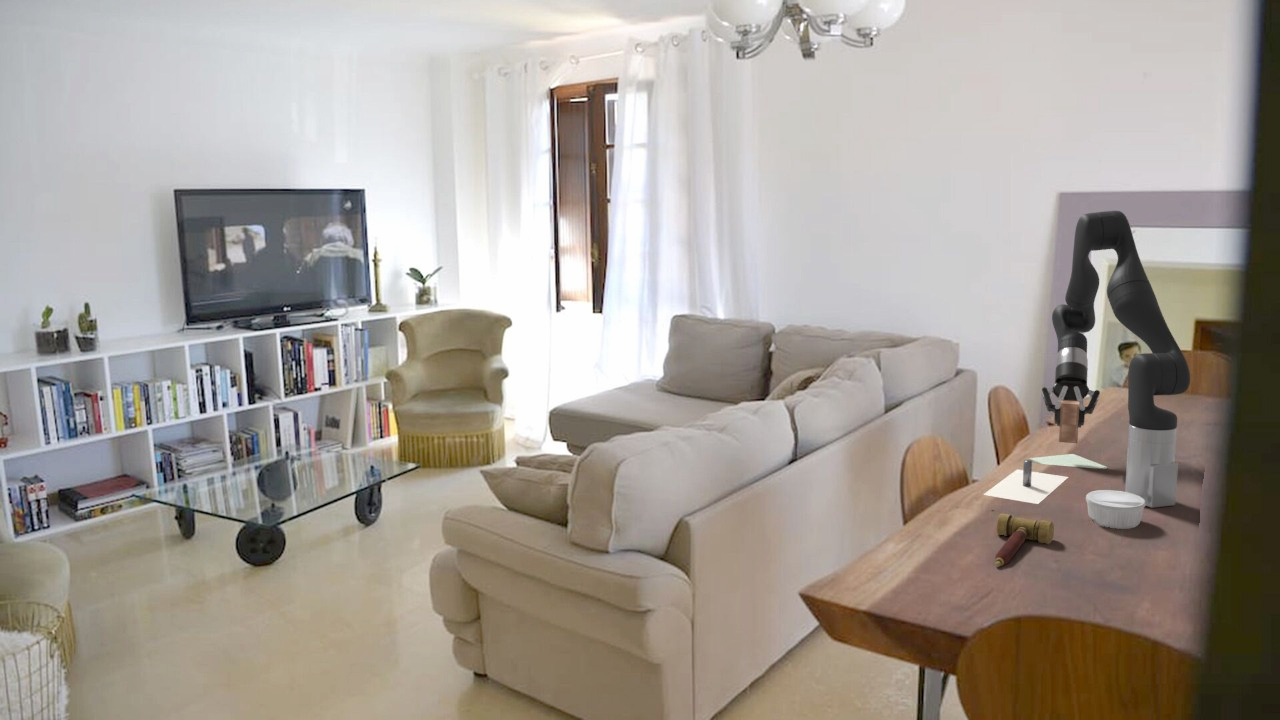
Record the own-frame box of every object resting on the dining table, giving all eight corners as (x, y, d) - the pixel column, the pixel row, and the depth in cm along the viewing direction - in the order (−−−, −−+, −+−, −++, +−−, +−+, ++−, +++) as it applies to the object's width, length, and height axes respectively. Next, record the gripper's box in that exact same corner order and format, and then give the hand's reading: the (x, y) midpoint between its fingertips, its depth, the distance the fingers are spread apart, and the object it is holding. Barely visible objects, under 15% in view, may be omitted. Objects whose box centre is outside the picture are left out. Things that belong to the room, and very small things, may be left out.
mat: (1107, 468, 233) (1107, 467, 233) (1061, 473, 230) (1061, 472, 230) (1072, 455, 245) (1072, 453, 245) (1028, 459, 243) (1028, 458, 243)
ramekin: (1111, 534, 190) (1113, 509, 189) (1072, 516, 200) (1073, 493, 200) (1156, 527, 193) (1158, 502, 192) (1116, 510, 203) (1117, 487, 202)
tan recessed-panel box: (1077, 439, 238) (1079, 400, 236) (1077, 443, 234) (1079, 404, 232) (1059, 437, 240) (1061, 399, 238) (1059, 442, 236) (1060, 403, 234)
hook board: (1037, 508, 206) (1039, 477, 205) (982, 498, 213) (983, 469, 212) (1068, 481, 224) (1069, 452, 223) (1016, 473, 232) (1017, 445, 230)
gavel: (1025, 559, 171) (970, 548, 177) (1024, 582, 172) (969, 570, 178) (1054, 518, 187) (1003, 509, 193) (1054, 539, 188) (1002, 530, 194)
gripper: (1041, 359, 243) (1038, 415, 234) (1102, 361, 237) (1101, 419, 229) (1041, 375, 249) (1038, 430, 240) (1101, 378, 243) (1099, 435, 234)
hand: (1069, 424), depth 234 cm, fingers closed on tan recessed-panel box, 4 cm apart
